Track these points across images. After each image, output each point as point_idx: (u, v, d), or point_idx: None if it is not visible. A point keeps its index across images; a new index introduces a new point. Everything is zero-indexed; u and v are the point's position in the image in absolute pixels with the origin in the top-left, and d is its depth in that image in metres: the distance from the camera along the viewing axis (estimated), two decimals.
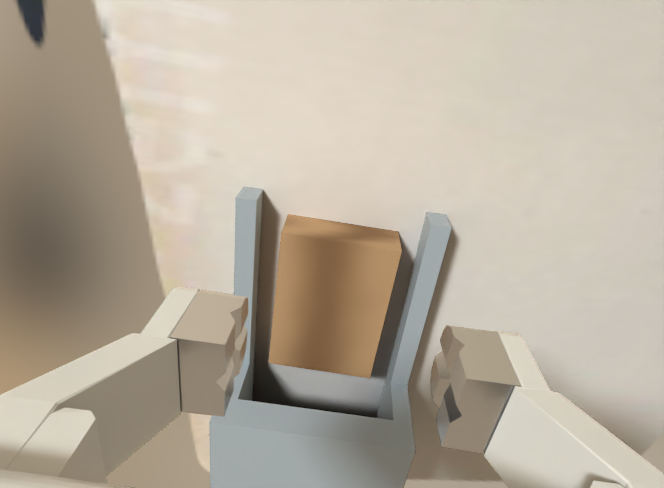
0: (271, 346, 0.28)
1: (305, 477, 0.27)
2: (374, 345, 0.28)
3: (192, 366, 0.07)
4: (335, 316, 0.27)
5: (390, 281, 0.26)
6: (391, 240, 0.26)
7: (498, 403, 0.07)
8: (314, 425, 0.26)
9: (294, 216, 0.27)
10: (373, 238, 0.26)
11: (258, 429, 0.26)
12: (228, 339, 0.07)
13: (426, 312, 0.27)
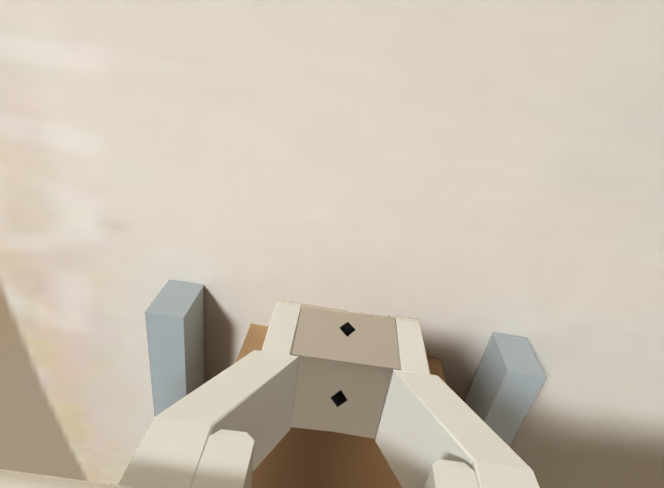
0: None
1: None
2: None
3: (309, 382, 0.07)
4: None
5: None
6: None
7: (380, 387, 0.07)
8: None
9: (261, 328, 0.15)
10: None
11: None
12: (346, 355, 0.07)
13: None
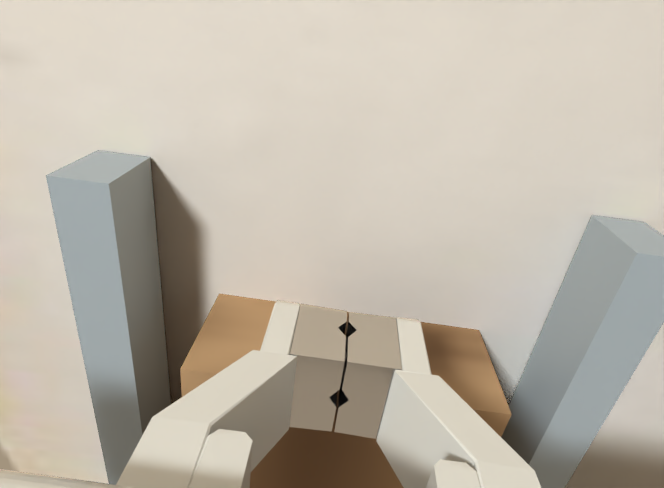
0: None
1: None
2: None
3: (308, 382, 0.07)
4: None
5: None
6: (474, 372, 0.10)
7: (382, 387, 0.07)
8: None
9: (231, 303, 0.11)
10: None
11: None
12: (344, 355, 0.07)
13: (574, 466, 0.11)
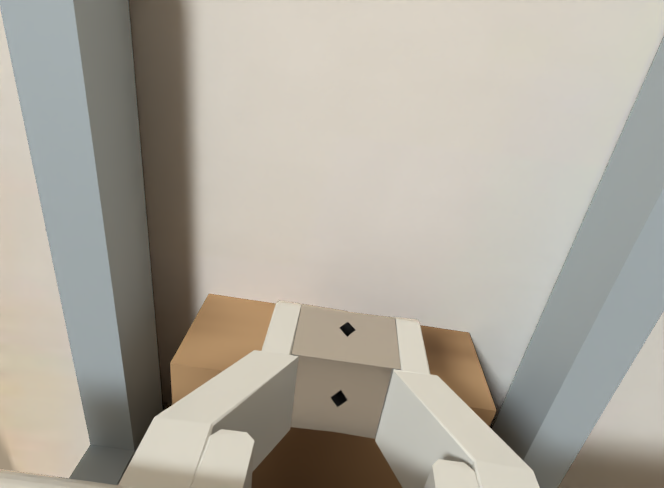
0: None
1: None
2: None
3: (309, 382, 0.07)
4: None
5: None
6: (461, 369, 0.10)
7: (381, 387, 0.07)
8: None
9: (222, 299, 0.11)
10: None
11: None
12: (346, 355, 0.07)
13: (654, 319, 0.09)
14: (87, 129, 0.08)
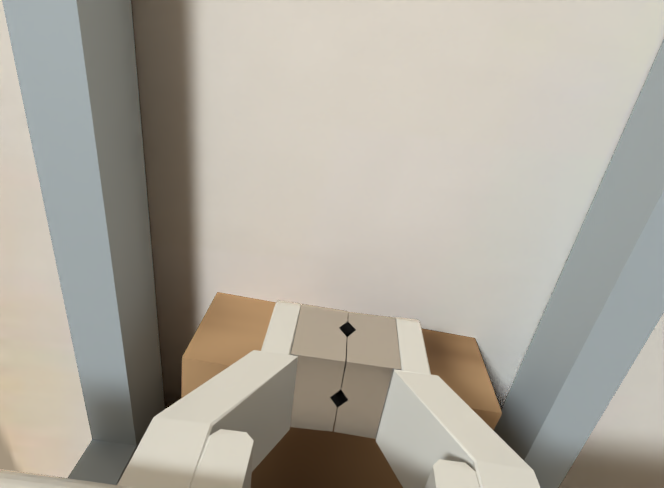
0: None
1: None
2: None
3: (309, 382, 0.07)
4: None
5: None
6: (467, 372, 0.10)
7: (381, 387, 0.07)
8: None
9: (232, 296, 0.11)
10: None
11: None
12: (345, 355, 0.07)
13: (659, 311, 0.09)
14: (89, 119, 0.08)
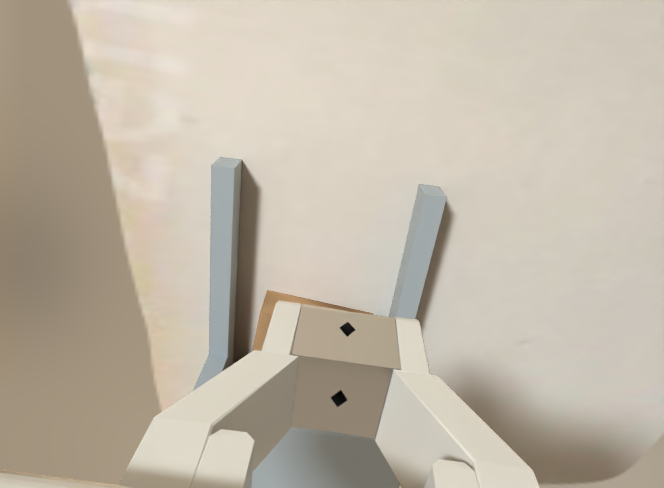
0: None
1: (289, 479, 0.25)
2: None
3: (309, 382, 0.07)
4: None
5: None
6: None
7: (381, 387, 0.07)
8: None
9: (273, 292, 0.27)
10: None
11: None
12: (346, 355, 0.07)
13: (420, 294, 0.25)
14: (230, 234, 0.24)
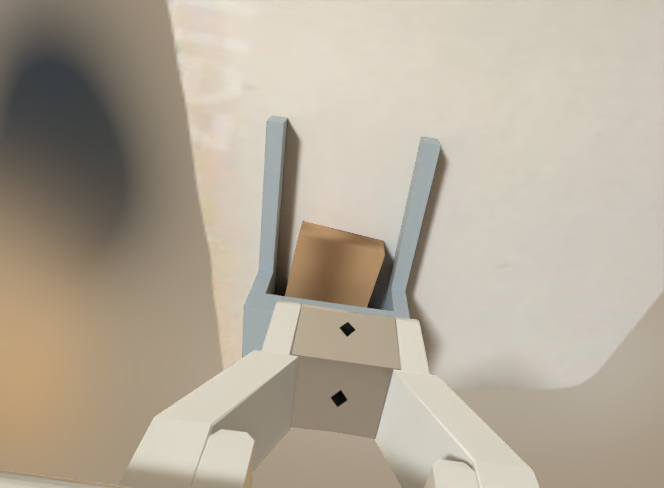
0: None
1: None
2: None
3: (309, 382, 0.07)
4: (331, 299, 0.36)
5: (374, 276, 0.35)
6: (378, 247, 0.35)
7: (381, 387, 0.07)
8: None
9: (307, 222, 0.36)
10: (364, 244, 0.35)
11: None
12: (346, 355, 0.07)
13: (421, 222, 0.33)
14: (278, 173, 0.32)
